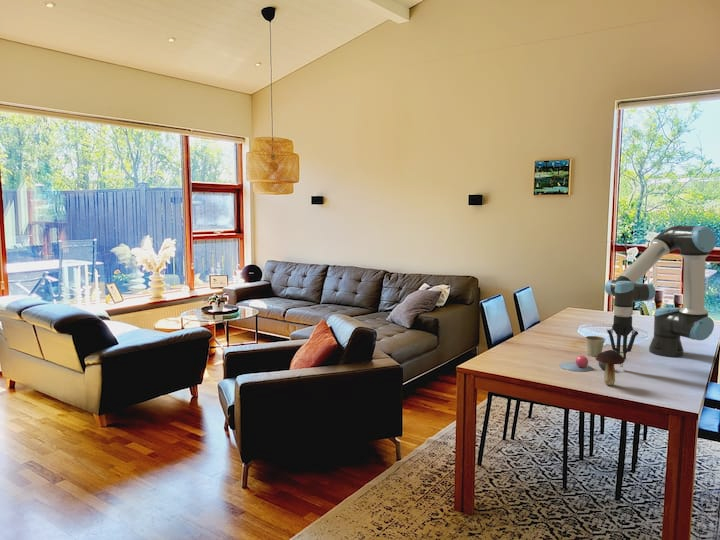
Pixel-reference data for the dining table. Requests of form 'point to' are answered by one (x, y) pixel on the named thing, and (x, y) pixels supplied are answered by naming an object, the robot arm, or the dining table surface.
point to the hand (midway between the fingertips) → (620, 366)
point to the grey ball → (602, 365)
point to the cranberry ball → (581, 361)
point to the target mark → (574, 367)
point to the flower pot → (594, 345)
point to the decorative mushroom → (610, 364)
